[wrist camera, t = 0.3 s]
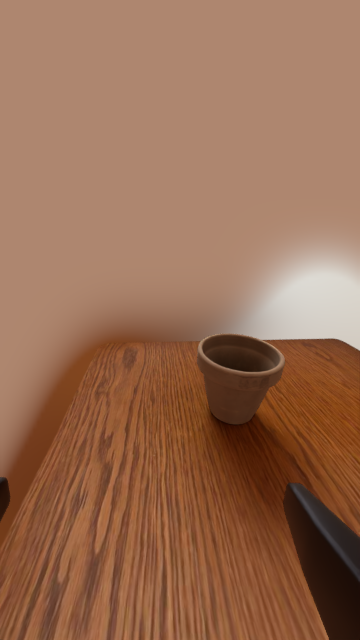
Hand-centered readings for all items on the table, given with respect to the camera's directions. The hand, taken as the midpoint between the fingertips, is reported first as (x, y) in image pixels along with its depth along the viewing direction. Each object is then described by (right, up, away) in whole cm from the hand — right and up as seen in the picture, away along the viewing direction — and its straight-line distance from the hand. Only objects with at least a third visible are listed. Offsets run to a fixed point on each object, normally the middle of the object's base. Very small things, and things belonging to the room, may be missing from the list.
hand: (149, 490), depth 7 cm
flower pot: (+9, -8, +27) cm, 29 cm away
